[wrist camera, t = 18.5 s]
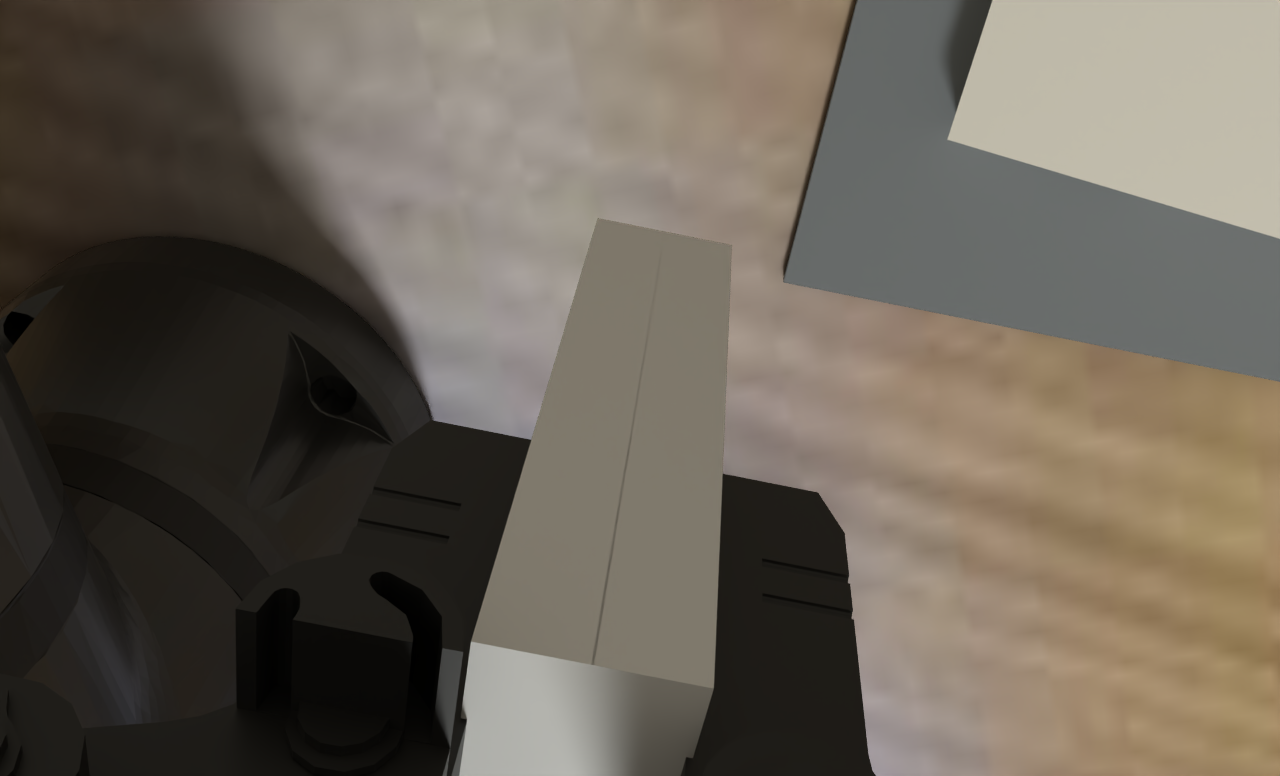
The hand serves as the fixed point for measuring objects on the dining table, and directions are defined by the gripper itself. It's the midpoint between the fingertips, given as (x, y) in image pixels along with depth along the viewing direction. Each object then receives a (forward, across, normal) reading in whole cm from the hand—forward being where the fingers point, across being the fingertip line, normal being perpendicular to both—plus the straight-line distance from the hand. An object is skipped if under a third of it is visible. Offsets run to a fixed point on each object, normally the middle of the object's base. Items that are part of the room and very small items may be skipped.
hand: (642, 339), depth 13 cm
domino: (+18, +7, 0) cm, 19 cm away
